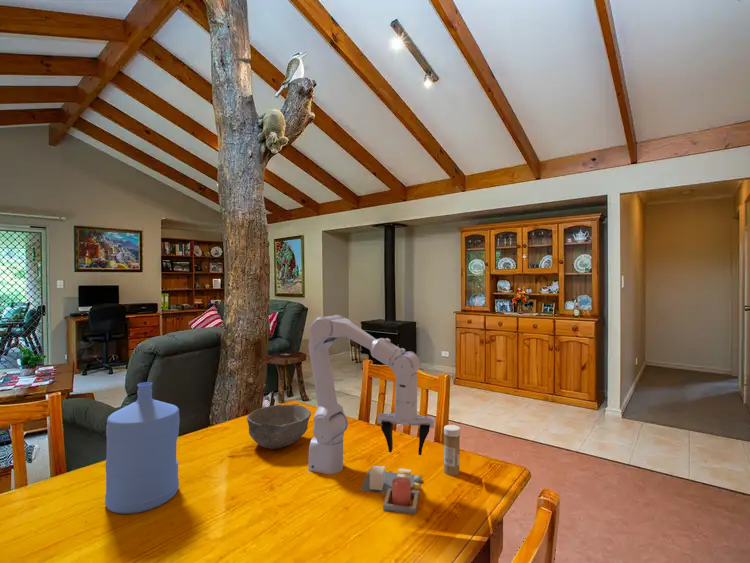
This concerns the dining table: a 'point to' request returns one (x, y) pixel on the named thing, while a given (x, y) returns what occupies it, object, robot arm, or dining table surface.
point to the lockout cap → (401, 491)
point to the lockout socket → (400, 507)
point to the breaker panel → (388, 483)
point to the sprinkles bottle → (451, 450)
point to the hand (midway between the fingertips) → (405, 452)
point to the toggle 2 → (404, 473)
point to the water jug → (141, 454)
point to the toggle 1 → (377, 477)
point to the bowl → (278, 425)
